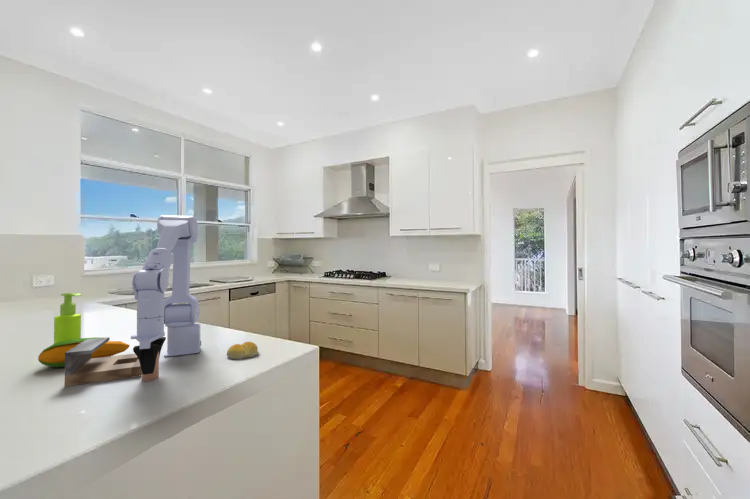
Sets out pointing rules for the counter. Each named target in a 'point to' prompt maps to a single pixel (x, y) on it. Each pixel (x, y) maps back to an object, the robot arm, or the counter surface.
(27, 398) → the counter surface
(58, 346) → the corn
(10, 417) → the counter surface
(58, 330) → the soap dispenser
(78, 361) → the socket station
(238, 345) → the bread roll
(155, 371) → the peg
